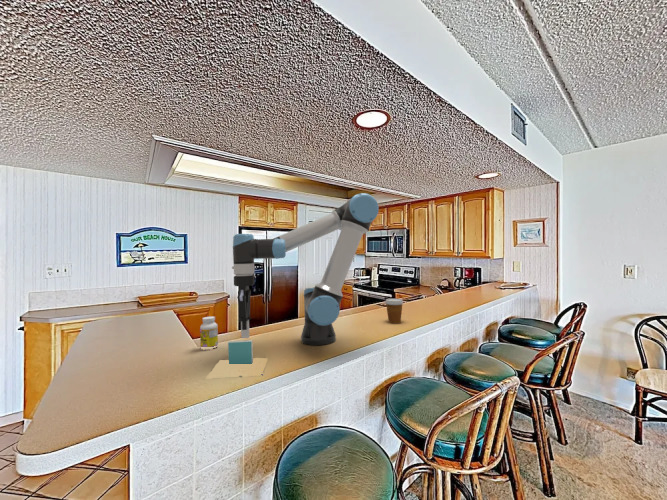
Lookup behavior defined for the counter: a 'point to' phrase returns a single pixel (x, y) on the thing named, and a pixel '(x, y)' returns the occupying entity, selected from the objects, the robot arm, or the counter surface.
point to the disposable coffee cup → (394, 310)
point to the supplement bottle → (209, 332)
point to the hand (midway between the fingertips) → (245, 337)
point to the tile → (240, 352)
